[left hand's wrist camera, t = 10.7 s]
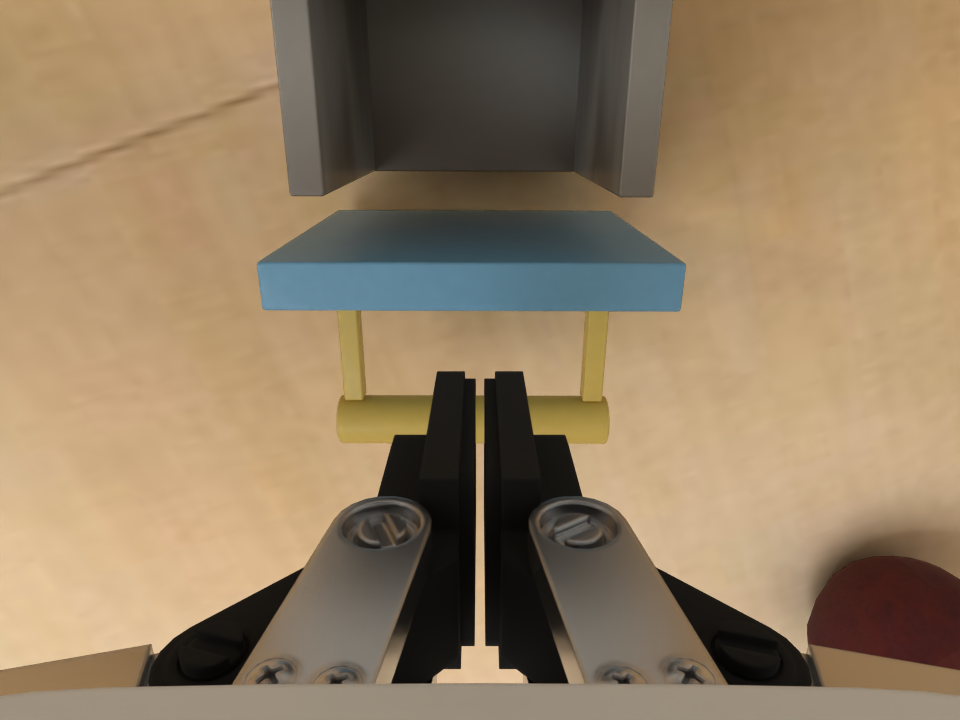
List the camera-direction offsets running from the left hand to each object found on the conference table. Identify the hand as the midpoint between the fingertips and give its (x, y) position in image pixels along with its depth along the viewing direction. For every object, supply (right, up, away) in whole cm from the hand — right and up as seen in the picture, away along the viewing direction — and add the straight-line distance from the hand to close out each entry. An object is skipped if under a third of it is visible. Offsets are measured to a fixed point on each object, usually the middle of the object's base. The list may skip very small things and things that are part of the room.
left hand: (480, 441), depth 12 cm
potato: (+18, -10, +18) cm, 28 cm away
